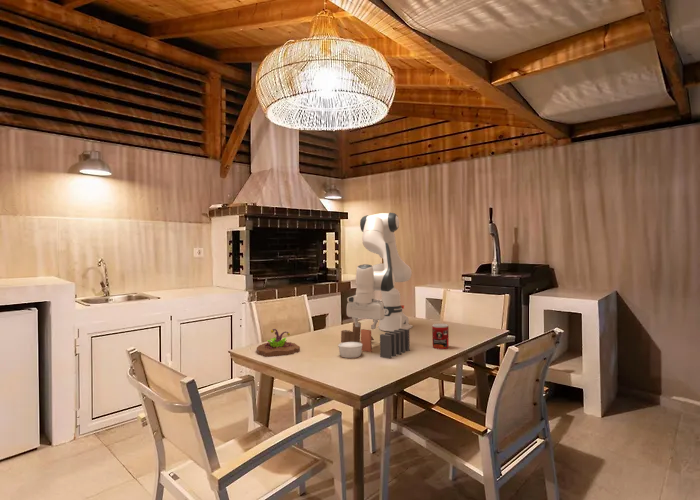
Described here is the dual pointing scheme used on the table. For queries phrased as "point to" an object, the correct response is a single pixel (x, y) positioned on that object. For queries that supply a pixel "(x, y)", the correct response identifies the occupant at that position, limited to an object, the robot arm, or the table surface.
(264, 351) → the plant
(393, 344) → the tile
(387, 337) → the tile
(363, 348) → the tile
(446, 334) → the canned food
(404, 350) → the tile
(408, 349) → the tile
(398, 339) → the tile
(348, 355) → the ramekin
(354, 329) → the wooden block set
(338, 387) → the table surface
